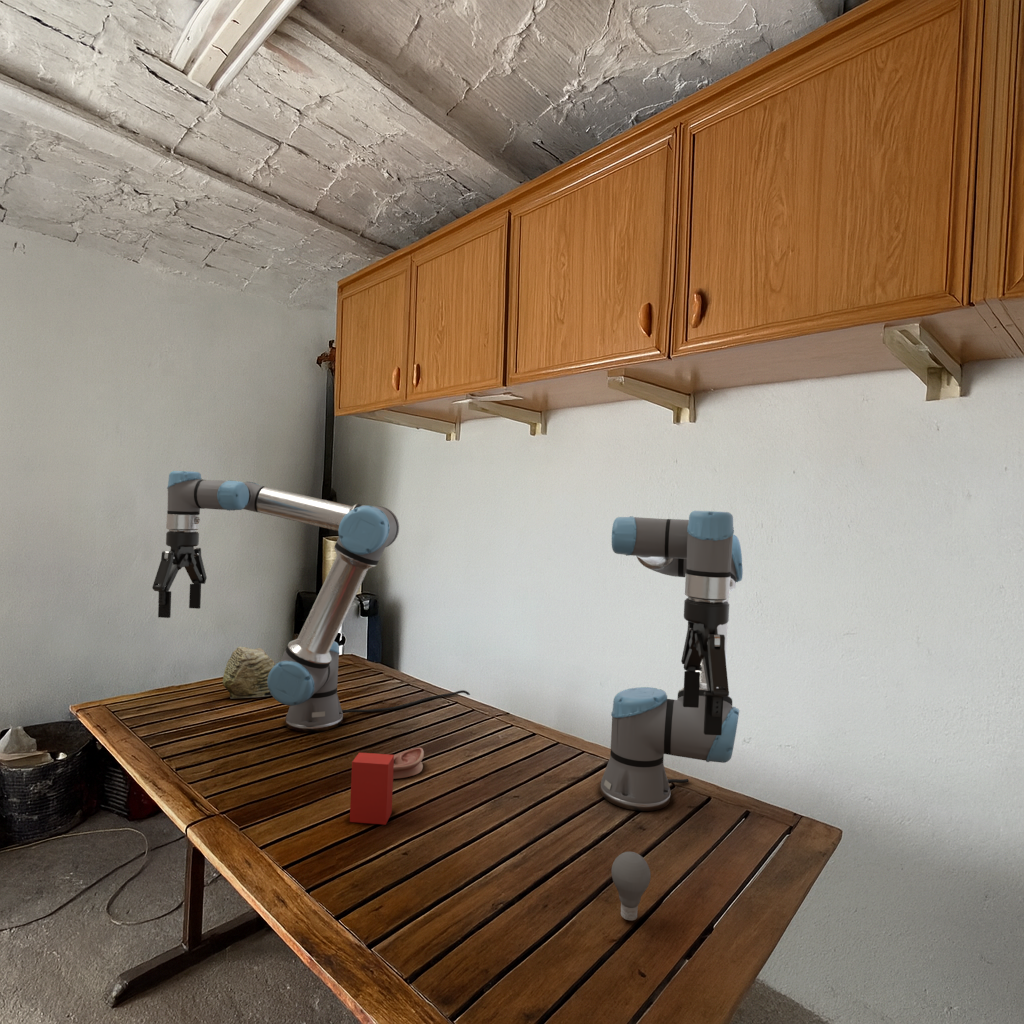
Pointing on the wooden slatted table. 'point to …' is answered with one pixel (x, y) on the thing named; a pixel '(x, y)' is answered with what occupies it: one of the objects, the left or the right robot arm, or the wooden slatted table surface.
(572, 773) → the wooden slatted table surface
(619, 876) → the light bulb
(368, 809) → the brick
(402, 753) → the anatomical model
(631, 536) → the right robot arm
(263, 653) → the fossil
